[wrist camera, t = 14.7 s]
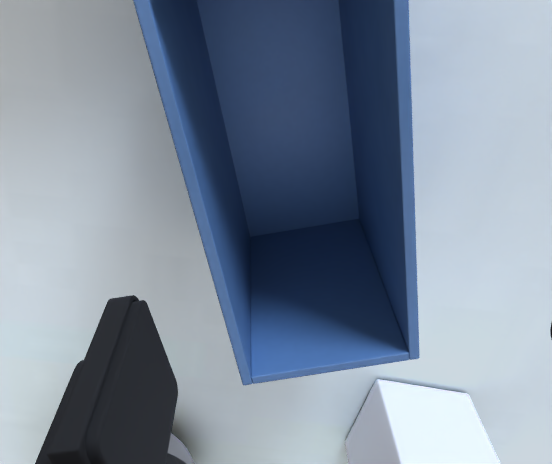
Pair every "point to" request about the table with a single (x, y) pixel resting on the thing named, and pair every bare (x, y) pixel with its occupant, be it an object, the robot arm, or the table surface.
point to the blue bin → (297, 173)
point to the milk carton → (418, 428)
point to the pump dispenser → (178, 452)
